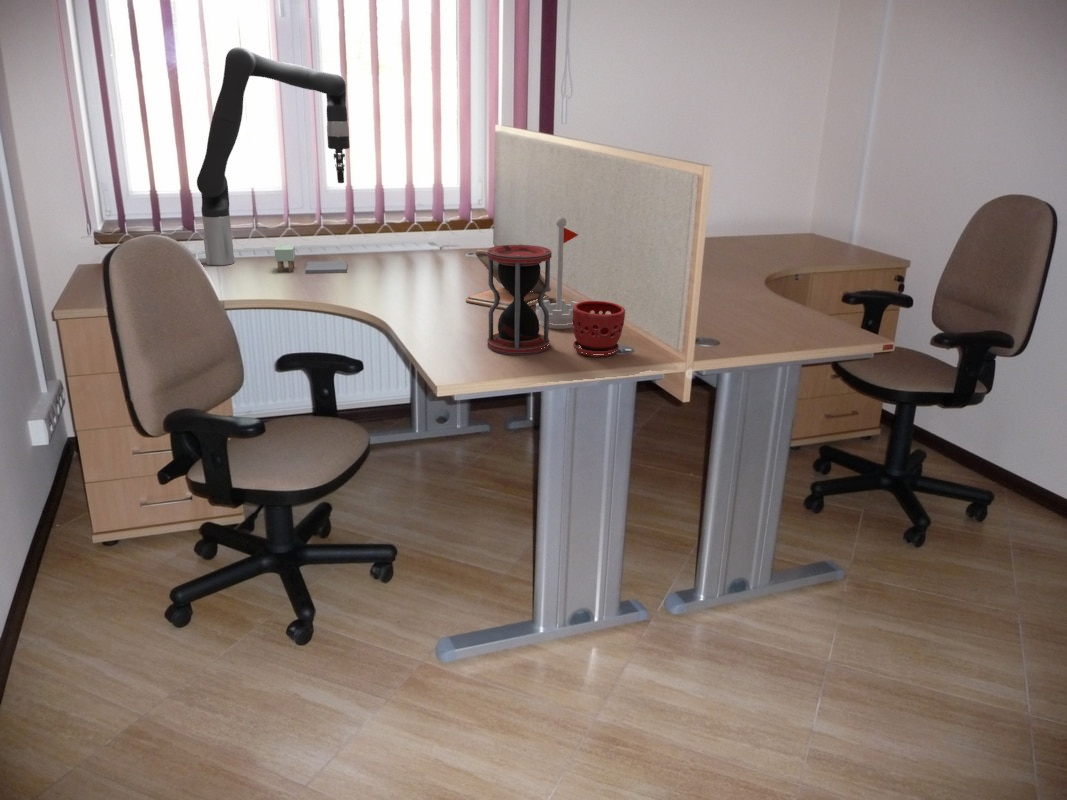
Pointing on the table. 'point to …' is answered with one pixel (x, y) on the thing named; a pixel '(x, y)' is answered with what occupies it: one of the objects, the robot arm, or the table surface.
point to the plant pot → (597, 327)
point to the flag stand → (559, 286)
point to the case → (503, 289)
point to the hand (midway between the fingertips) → (340, 181)
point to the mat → (326, 267)
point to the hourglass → (519, 299)
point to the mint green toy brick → (285, 256)
